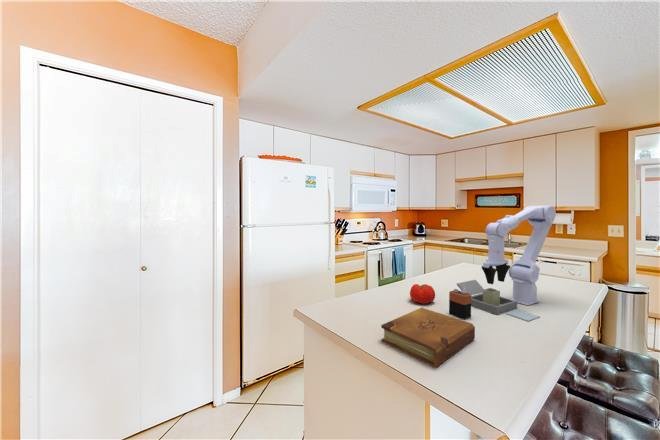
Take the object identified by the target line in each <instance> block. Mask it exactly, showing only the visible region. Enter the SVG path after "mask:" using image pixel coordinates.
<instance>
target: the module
mask: <svg viewBox="0 0 660 440" xmlns="http://www.w3.org/2000/svg"><path fill="white" fill-rule="evenodd" d="M483 289H484V290H483V301H482V302H484V303H487V304H490V305H494V306H498V305H501V304H500V297H501V291H500V290H497V289H495V288H492V287H491V288H490V287H489V288H483Z"/></svg>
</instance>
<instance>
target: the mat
mask: <svg viewBox="0 0 660 440" xmlns="http://www.w3.org/2000/svg"><path fill="white" fill-rule="evenodd" d="M505 315H507V316H511V317H513V318H516V319H519V320H522V321H525V322H531V321H534V320H536V319H539V318H541V316H540V315H537V314H533V313H530V312H526V311H523V310H520V309H518V308H517V309H514V310H511V311H508V312H505Z"/></svg>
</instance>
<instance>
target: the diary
mask: <svg viewBox="0 0 660 440" xmlns="http://www.w3.org/2000/svg"><path fill="white" fill-rule="evenodd" d="M381 329H382V330H383V335H384V336H383V338H381V342H382V343H385V344H386V345H387V344H388V346H389V345H390V346H391V347H393V348H395V349H397V350H399V351H401V352H403V353H405V354H407V355H409V356H411V357H413V358H415V359H417V360H420V361H421V362H423V363H425V364H427V363H428V365H429V364H430V365H429V366H431V365H432V367H433V366H434V367H433V368H437V367H438V366H439V365H441V364H442V363H444V362H446V360H448V359H449V358H450V357H452V356H453V355H454V354H456V353H458V352H459V351H460V350H461V349H463V348H464V347H465V346H468V344H470V343H471V342H472V341H474V340H475V339H476V337H475V335H476V333H475V332H476V327H475V325H474V324H473V323H472V322H468V321H466V320H464V319H461V318H457V317H452V316H450V315H447V314H443V313H441V312H437V311H434V310H432V309H428V308H424V307H420V308H417V309H415V310H413V311H411V312H408V313H405V314H403V315H401V316H399V317H396V318H394V319H392V320H389V321H388V322H385V323H383V324H381Z"/></svg>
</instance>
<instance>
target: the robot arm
mask: <svg viewBox="0 0 660 440" xmlns="http://www.w3.org/2000/svg"><path fill="white" fill-rule="evenodd" d="M556 217H557V213H556V209H555V207H554V206H553V205H550V204H548V205H527V206H525V207H523V209H522V210H521V211H519V212H517V213H516V214H515V215H511V214H506V215H505V216H504V217H503V218H501V219H497V221H496V222H489V223H488V224H487V226H486V227H485V229H484V231H485V234H486V237H487V240H488V245H487V246H488V249H487V251H488V254H487V255H488V256H487V258H488V259H485V261H484V262H483V265H482V266H481V269H482V271H483V273H484V275H485V276H484V277H485V279H486V283H487V284H489V285H494V283H495V275H496V274H497V281H498V282H502V283H504V282H505V279H506V276H507V273H508V276H509V277H510V278H511V279H510V280H511V281H512V297H510V298H509V299H510V300H514V301H517V304H521V305H524V306H531V305H534V304H536V303H539V302H540V301H539V300H537V298H538V296H537V295H538V293H537V292H538V287H537V285H536V282H537V281H538V280H539V274H540V270H541V269H540V267H539V266H538V265H537V264H536V262H537V260H538V258H539V255H540V252H541V250H542V248H543V246H544V243H545V241H546V239H547V236H548V234H549V231H550V229H551V227H552V226H553V223H554V221H555V219H556ZM526 220H527V222H528V224H529V225H530V226H532V227H533V229H532V232H531V234H530V237H529V238H528V241H527V243H526V245H525V248H524V250H523V253H522V255H521V258H519V259H516V260H514V261H513V263H512V264H511V265H509V259H505V239H506V238H505V237H507V236H508V234H509V232H510V231H512V230H515V228H517V227H519V225H520V223H521V222H522V223H523V222H524V221H526Z"/></svg>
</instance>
